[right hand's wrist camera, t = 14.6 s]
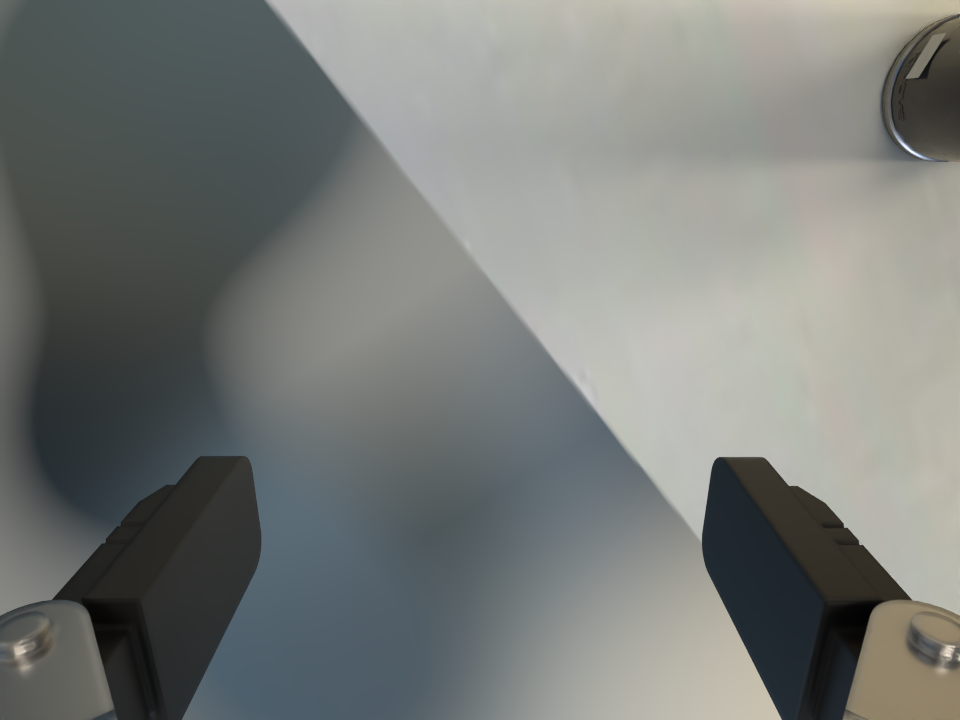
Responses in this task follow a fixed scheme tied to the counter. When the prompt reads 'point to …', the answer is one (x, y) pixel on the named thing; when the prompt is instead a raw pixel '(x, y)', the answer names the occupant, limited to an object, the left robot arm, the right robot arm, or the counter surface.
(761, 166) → the counter surface
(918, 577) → the counter surface
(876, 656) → the right robot arm
